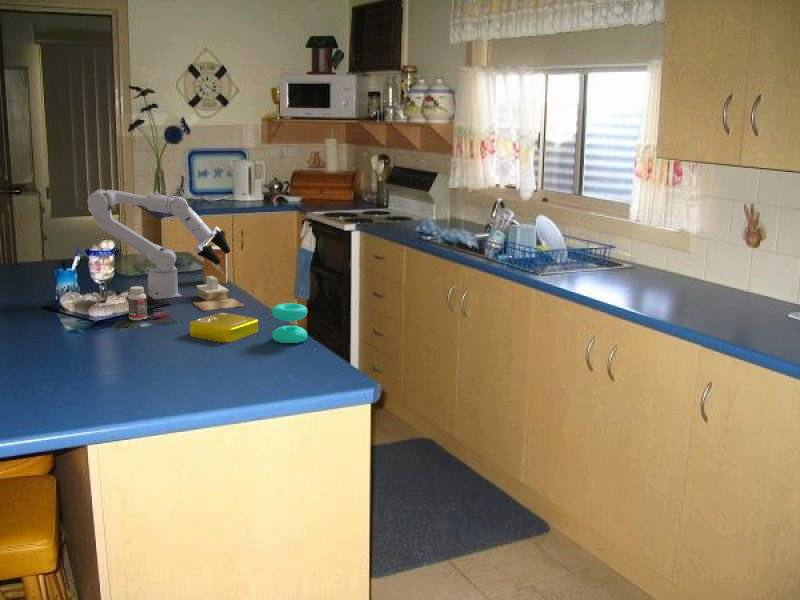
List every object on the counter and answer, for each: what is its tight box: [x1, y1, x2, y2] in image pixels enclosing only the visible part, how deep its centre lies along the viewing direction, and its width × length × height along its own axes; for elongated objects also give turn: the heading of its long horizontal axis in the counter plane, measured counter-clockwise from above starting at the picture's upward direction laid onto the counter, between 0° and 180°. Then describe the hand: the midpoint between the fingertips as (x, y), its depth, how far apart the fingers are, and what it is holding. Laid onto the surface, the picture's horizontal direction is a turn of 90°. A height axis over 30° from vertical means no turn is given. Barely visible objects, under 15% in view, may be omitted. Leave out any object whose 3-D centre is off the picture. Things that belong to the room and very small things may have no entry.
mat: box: [192, 297, 246, 312], centre depth 277 cm, size 14×11×1 cm
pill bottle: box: [127, 285, 148, 321], centre depth 258 cm, size 5×5×10 cm
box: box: [197, 288, 229, 301], centre depth 287 cm, size 7×10×3 cm
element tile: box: [189, 311, 259, 343], centre depth 245 cm, size 15×15×5 cm
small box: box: [203, 245, 228, 285], centre depth 309 cm, size 8×6×13 cm
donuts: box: [271, 302, 308, 344], centre depth 240 cm, size 10×10×10 cm
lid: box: [196, 276, 230, 294], centre depth 286 cm, size 8×11×5 cm
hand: (223, 257), depth 288 cm, fingers open, 7 cm apart
